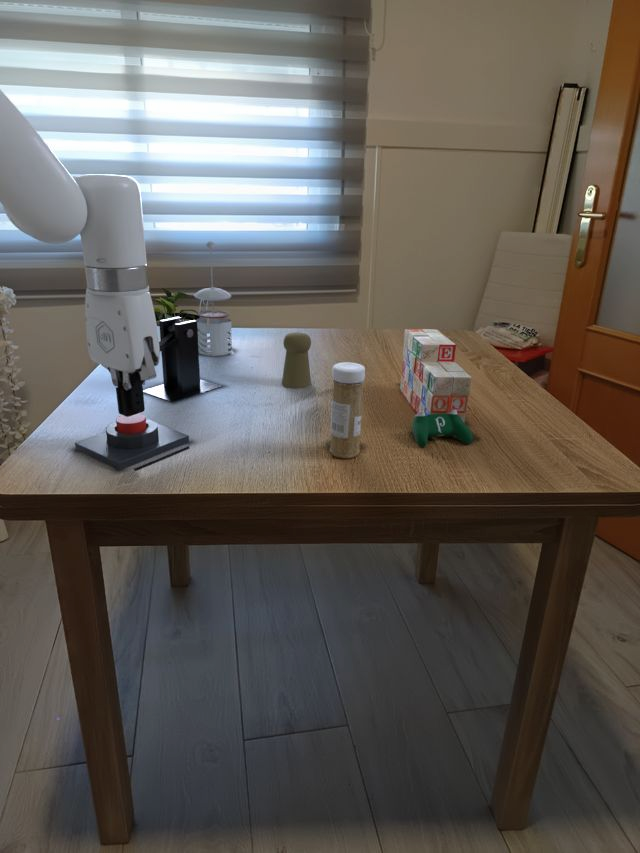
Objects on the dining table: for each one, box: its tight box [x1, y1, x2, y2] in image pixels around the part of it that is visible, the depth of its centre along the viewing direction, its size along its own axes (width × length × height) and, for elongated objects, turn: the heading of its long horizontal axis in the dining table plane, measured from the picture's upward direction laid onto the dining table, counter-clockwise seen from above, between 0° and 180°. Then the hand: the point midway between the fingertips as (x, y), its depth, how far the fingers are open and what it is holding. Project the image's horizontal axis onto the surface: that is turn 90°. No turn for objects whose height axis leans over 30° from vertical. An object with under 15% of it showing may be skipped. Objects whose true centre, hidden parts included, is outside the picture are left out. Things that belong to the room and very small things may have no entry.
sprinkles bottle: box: [329, 361, 366, 459], centre depth 83 cm, size 5×5×13 cm
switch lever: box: [159, 320, 186, 353], centre depth 99 cm, size 15×3×3 cm, turn 144°
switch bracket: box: [143, 316, 223, 404], centre depth 104 cm, size 12×9×14 cm
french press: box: [193, 241, 237, 357], centre depth 127 cm, size 10×12×25 cm
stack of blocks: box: [400, 328, 472, 423], centre depth 102 cm, size 21×6×12 cm, turn 5°
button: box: [115, 413, 147, 434], centre depth 81 cm, size 4×4×2 cm
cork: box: [281, 331, 312, 390], centre depth 109 cm, size 6×6×11 cm
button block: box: [74, 418, 190, 472], centre depth 82 cm, size 12×10×4 cm
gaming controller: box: [412, 410, 474, 448], centre depth 90 cm, size 9×4×6 cm
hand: (132, 412), depth 80 cm, fingers closed
